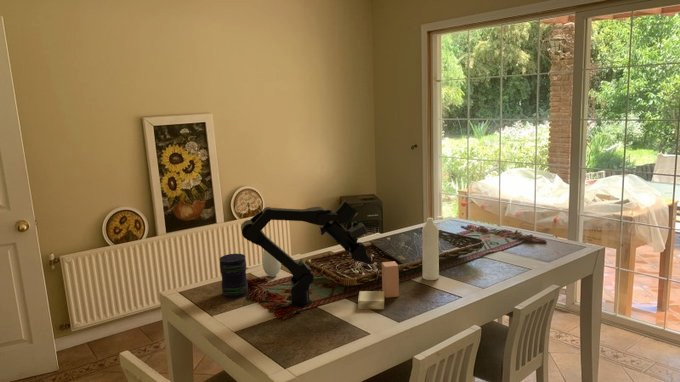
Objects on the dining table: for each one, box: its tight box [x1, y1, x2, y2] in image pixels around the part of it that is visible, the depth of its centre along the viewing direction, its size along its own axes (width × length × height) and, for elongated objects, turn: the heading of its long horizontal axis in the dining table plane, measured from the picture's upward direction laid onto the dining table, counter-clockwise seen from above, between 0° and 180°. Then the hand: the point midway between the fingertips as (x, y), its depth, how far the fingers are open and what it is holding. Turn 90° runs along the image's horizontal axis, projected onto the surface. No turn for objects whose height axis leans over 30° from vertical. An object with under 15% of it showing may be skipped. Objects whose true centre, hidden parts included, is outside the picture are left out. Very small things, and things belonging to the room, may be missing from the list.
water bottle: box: [421, 215, 444, 281], centre depth 202 cm, size 9×6×25 cm
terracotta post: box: [381, 260, 400, 298], centre depth 188 cm, size 5×5×12 cm
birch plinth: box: [357, 290, 385, 310], centre depth 181 cm, size 9×9×3 cm
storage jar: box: [219, 253, 249, 300], centre depth 194 cm, size 10×10×15 cm
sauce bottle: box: [261, 237, 282, 278], centre depth 211 cm, size 8×8×18 cm
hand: (367, 259), depth 187 cm, fingers open, 9 cm apart
